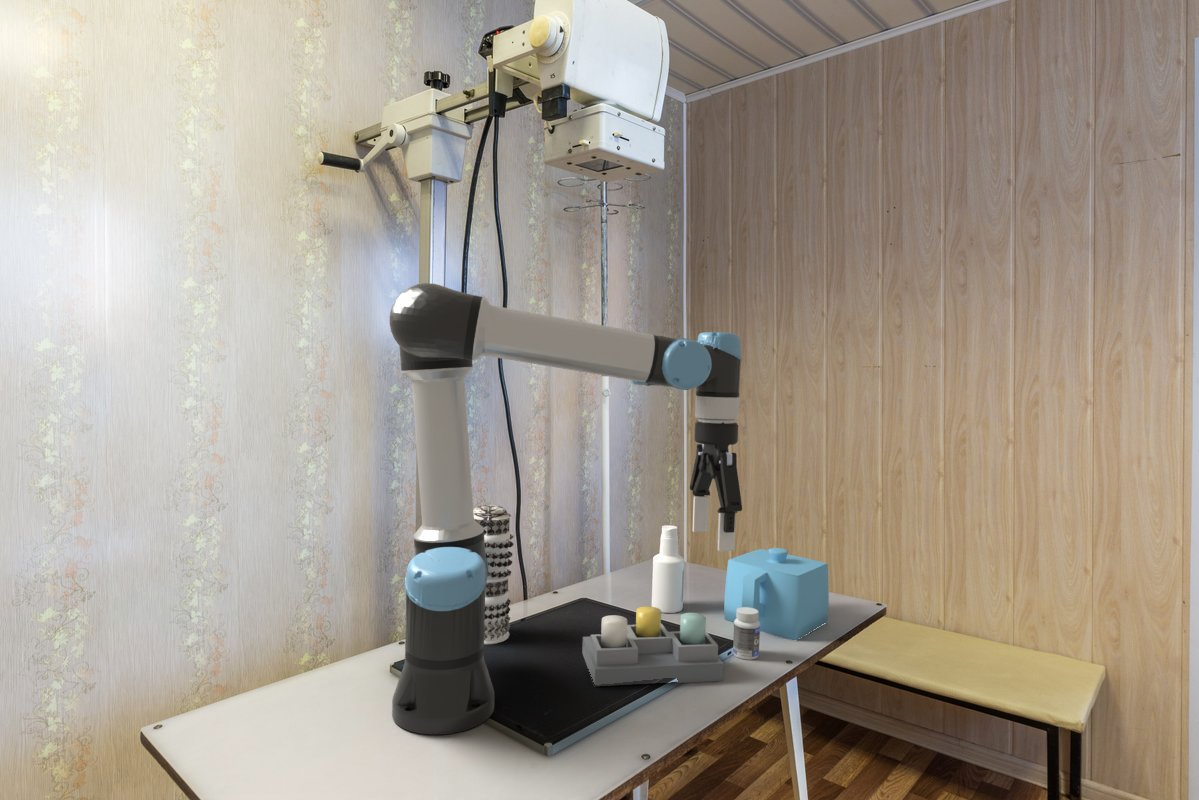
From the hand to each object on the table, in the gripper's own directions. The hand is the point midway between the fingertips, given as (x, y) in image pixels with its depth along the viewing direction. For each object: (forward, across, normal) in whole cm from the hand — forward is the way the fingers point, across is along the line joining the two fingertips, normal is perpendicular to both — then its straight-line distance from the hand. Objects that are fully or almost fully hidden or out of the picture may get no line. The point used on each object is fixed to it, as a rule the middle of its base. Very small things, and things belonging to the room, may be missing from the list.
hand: (712, 540), depth 127 cm
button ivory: (+17, -1, +18) cm, 25 cm away
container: (+23, +20, -22) cm, 37 cm away
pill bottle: (+22, +3, -8) cm, 24 cm away
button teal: (+17, -2, +4) cm, 17 cm away
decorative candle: (+23, +18, +38) cm, 48 cm away
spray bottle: (+22, +29, -1) cm, 37 cm away
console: (+22, 0, +10) cm, 25 cm away
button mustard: (+17, +2, +11) cm, 20 cm away
